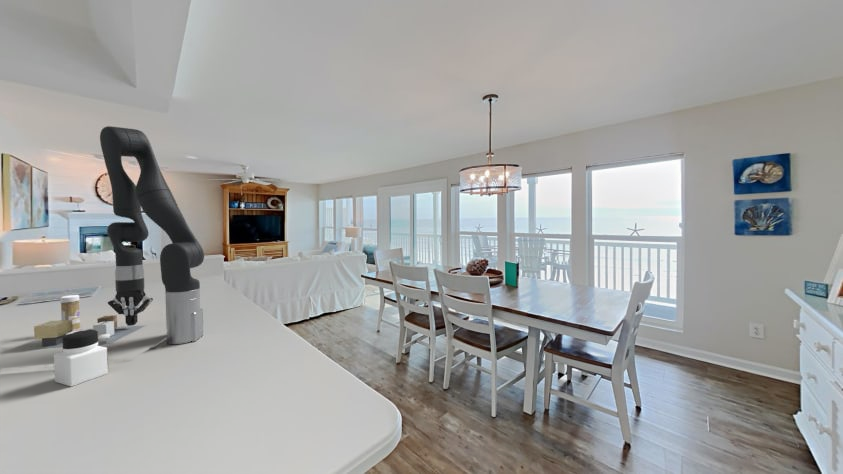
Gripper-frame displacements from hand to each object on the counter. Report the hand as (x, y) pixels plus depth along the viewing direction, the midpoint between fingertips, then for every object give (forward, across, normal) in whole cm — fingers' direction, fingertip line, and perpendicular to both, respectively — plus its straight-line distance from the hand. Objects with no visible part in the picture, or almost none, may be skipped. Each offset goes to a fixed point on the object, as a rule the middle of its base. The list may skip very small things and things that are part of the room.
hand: (131, 324), depth 111 cm
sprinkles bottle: (+3, +21, -5) cm, 22 cm away
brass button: (-1, +14, +11) cm, 18 cm away
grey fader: (+1, +3, +8) cm, 9 cm away
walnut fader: (+1, +7, 0) cm, 7 cm away
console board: (+3, +7, +6) cm, 10 cm away
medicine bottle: (+3, -10, +36) cm, 37 cm away
